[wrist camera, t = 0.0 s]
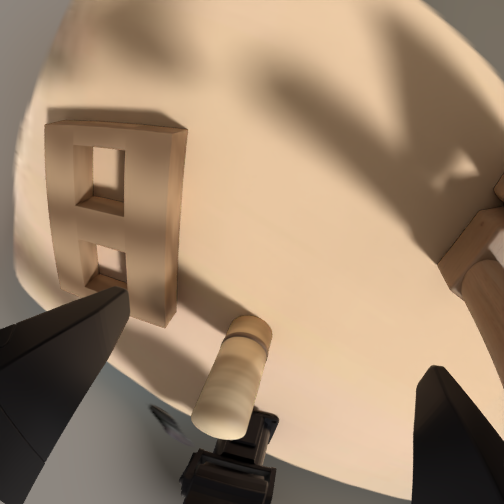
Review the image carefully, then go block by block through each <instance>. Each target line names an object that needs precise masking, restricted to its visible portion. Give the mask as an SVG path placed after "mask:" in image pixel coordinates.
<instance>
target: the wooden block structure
mask: <svg viewBox="0 0 504 504" xmlns="http://www.w3.org/2000/svg"><path fill="white" fill-rule="evenodd" d="M494 191H495V194H496V195H497V196H498V197H499V198H500V199H501V200H502V201H503V202H504V174H503V175H502V177H501V178H500V180H499V181H498V183H497V185H496V186H495V188H494ZM438 268H439V270H440V272H441V274H442V276H443V277H444V279H445V281H446V283H447V285H448V287H449V289H450V290H451V291H452V292H453V293H454V294H456V295H457V296H458V297H460V298H461V299H462V300H463V301H465V303H466V305H467V307H468V309H469V311H470V313H471V315H472V317H473V319H474V321H475V323H476V325H477V327H478V329H479V331H480V334H481V336H482V338H483V340H484V342H485V344H486V347H487V349H488V351H489V353H490V356H491V358H492V360H493V363H494V365H495V368H496V370H497V373H498V375H499V378H500V380H501V383H502V385H503V388H504V206H503V207H497V208H492V209H486V210H481V211H479V212H478V213H477V214H476V216H475V217H474V218H473V220H472V221H471V222H470V224H469V225H468V226H467V228H466V229H465V230H464V232H463V233H462V234H461V235H460V237H459V238H458V239H457V241H456V242H455V243H454V244H453V246H452V247H451V248H450V249H449V251H448V252H447V253H446V254H445V256H444V257H443V258H442V259H441V260H440V262H439V263H438Z"/></svg>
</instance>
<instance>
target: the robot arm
mask: <svg viewBox="0 0 504 504" xmlns="http://www.w3.org/2000/svg"><path fill="white" fill-rule="evenodd" d="M129 316H130V302H129V292H128V290H126V289H125V288H122V287H119V286H113V287H110V288H107V289H105V290H102V291H99V292H97V293H94V294H91V295H89V296H86V297H83V298H81V299H78V300H75V301H73V302H70V303H68V304H65V305H62V306H60V307H57V308H54V309H52V310H49V311H47V312H44V313H41V314H39V315H36V316H34V317H31V318H29V319H26V320H23V321H21V322H18V323H16V324H13V325H10V326H8V327H5V328H3V329H0V500H1V501H2V502H3V503H5V504H23V503H24V501H25V499H26V497H27V495H28V493H29V492H30V490H31V488H32V486H33V484H34V482H35V480H36V479H37V477H38V475H39V473H40V471H41V470H42V468H43V466H44V464H45V461H46V460H47V458H48V457H49V455H50V453H51V451H52V450H53V448H54V446H55V444H56V443H57V441H58V439H59V437H60V436H61V434H62V432H63V431H64V429H65V427H66V426H67V424H68V422H69V421H70V419H71V417H72V416H73V414H74V412H75V411H76V409H77V407H78V406H79V404H80V402H81V401H82V399H83V398H84V396H85V394H86V393H87V391H88V390H89V388H90V387H91V385H92V383H93V382H94V380H95V379H96V377H97V375H98V374H99V372H100V371H101V369H102V368H103V366H104V365H105V363H106V361H107V360H108V358H109V356H110V354H111V352H112V351H113V349H114V347H115V345H116V343H117V341H118V339H119V337H120V335H121V333H122V331H123V329H124V327H125V325H126V323H127V321H128V319H129ZM278 423H279V418H277V417H273V416H269V415H265V414H261V413H257V412H253V411H252V413H251V417H250V420H249V424H248V427H247V431H246V434H245V435H244V436H243V437H242V438H240V439H236V440H225V439H219V438H218V439H217V442H216V445H215V448H214V451H213V453H211V452H208V451H205V450H204V449H201V448H200V449H199V450H198V452H196V453H193V454H192V457H191V459H190V462H189V464H188V466H187V467H186V469H185V471H184V472H183V474H182V475H181V477H180V479H179V483H180V484H181V486H182V487H181V490H182V491H181V496H183V497H185V499H184V502H183V504H270V503H271V500H272V495H273V488H274V482H275V475H276V468H273V467H271V468H270V467H265V466H263V461H264V457H265V453H266V449H267V445H268V444H269V442H270V440H271V438H272V436H273V434H274V432H275V429H276V427H277V425H278ZM411 504H504V441H503V440H502V438H501V437H500V436H499V434H498V433H497V432H496V430H495V429H494V428H493V426H492V425H491V424H490V423H489V421H488V420H487V419H486V417H485V416H484V415H483V414H482V412H481V411H480V410H479V409H478V407H477V406H476V405H475V404H474V402H473V401H472V400H471V399H470V397H469V396H468V395H467V394H466V393H465V391H464V390H463V389H462V388H461V386H460V385H459V384H458V383H457V382H456V380H455V379H454V378H453V377H452V376H451V375H450V373H449V372H448V371H447V370H446V369H445V368H444V367H442V366H436V365H432V366H431V367H430V368H429V369H428V370H427V372H426V373H425V375H424V376H423V377H422V379H421V380H420V381H419V383H418V385H417V389H416V403H415V418H414V432H413V485H412V502H411Z"/></svg>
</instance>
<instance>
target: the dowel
mask: <svg viewBox="0 0 504 504" xmlns="http://www.w3.org/2000/svg"><path fill="white" fill-rule="evenodd" d="M271 340H272V331H271V328H270V327H269V325H268V324H267V323H266V322H265V321H263V320H262V319H260V318H258V317H255V316H249V315H246V316H240V317H238V318H236V319H234V320H233V321H232V323H231V325H230V327H229V330H228V332H227V334H226V337H225V338H224V340H223V342H222V344H221V347H220V350H219V353H218V355H217V357H216V360H215V362H214V364H213V367H212V369H211V371H210V373H209V376H208V378H207V380H206V383H205V385H204V387H203V390H202V392H201V394H200V396H199V399H198V401H197V403H196V406H195V408H194V410H193V412H192V415H191V420H192V422H193V424H194V425H195V426H196V427H197V428H198V429H200V430H201V431H202V432H204V433H206V434H208V435H210V436H213V437H216V438H219V439H225V440H236V439H240V438H242V437H243V436H244V435H245V434H246V431H247V427H248V424H249V420H250V417H251V413H252V410H253V406H254V403H255V399H256V395H257V392H258V388H259V385H260V381H261V377H262V374H263V370H264V366H265V363H266V361H267V357H268V351H269V347H270V343H271Z"/></svg>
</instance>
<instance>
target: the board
mask: <svg viewBox="0 0 504 504" xmlns="http://www.w3.org/2000/svg"><path fill="white" fill-rule="evenodd" d="M187 134H188V130H186V129H178V128H170V127H161V126H151V125H141V124H129V123H116V122H100V121H78V120H63V121H58V122H54V123H50V124H45V172H46V188H47V200H48V210H49V219H50V228H51V235H52V242H53V249H54V255H55V261H56V267H57V272H58V277H59V282H60V287H61V289H62V290H64V291H67V292H69V293H71V294H74V295H76V296H79V297H81V298H83V297H86V296H89V295H91V294H94V293H97V292H99V291H102V290H105V289H107V288H110V287H113V286H119V287H122V288H125V289H126V290H128V292H129V302H130V316H131V317H134V318H136V319H139V320H142V321H145V322H148V323H151V324H154V325H157V326H159V327H162V328H166V326H167V325H168V323H169V322H170V320H171V319H172V317H173V316H174V314H175V313H176V308H177V271H178V248H179V229H180V213H181V199H182V186H183V174H184V163H185V153H186V143H187ZM93 147H100V148H109V149H117V150H125V171H124V202H120V201H115V200H111V199H106V198H101V197H96V196H93ZM96 244H97V245H100V246H104V247H107V248H111V249H114V250H117V251H121V252H124V253H125V255H126V273H127V283H125V282H122V281H119V280H116V279H113V278H110V277H107V276H104V275H102V274H99V268H98V258H97V248H96Z"/></svg>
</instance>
